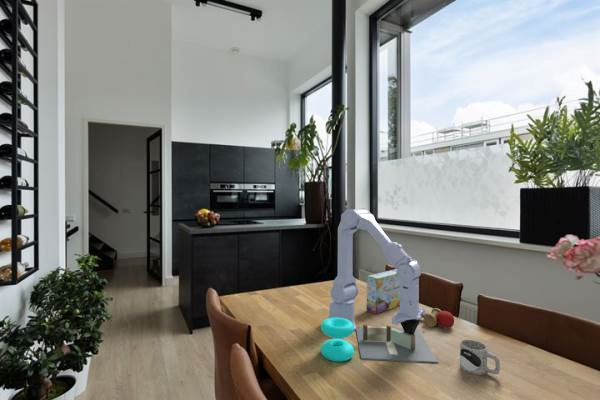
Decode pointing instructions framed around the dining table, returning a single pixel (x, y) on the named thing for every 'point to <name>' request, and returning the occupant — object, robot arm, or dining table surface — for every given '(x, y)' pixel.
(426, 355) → the card
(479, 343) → the mug
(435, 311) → the kendama
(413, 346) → the fence gate
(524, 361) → the dining table surface
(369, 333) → the fence fixed
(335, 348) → the donuts
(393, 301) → the snack box
